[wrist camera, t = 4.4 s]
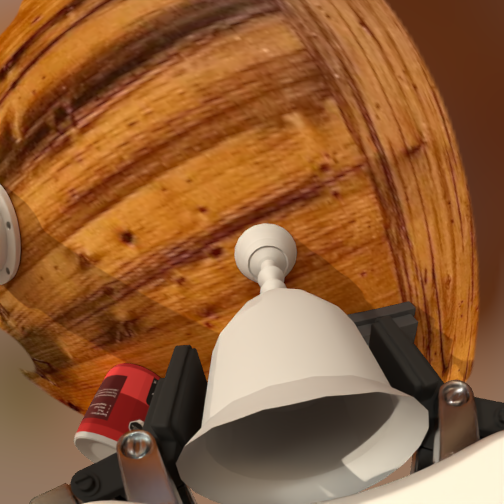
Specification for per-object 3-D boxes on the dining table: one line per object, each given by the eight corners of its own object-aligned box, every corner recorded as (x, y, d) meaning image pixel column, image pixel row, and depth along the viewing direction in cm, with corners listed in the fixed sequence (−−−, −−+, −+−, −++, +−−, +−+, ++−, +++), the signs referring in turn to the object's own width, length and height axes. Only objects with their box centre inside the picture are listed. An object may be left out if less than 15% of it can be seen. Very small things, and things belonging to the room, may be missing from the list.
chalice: (307, 291, 23) (384, 489, 6) (228, 297, 23) (206, 511, 6) (306, 207, 21) (470, 355, 4) (219, 212, 21) (132, 399, 4)
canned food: (169, 413, 29) (152, 485, 18) (110, 393, 28) (80, 459, 17) (176, 374, 26) (153, 459, 16) (107, 351, 26) (65, 425, 15)
